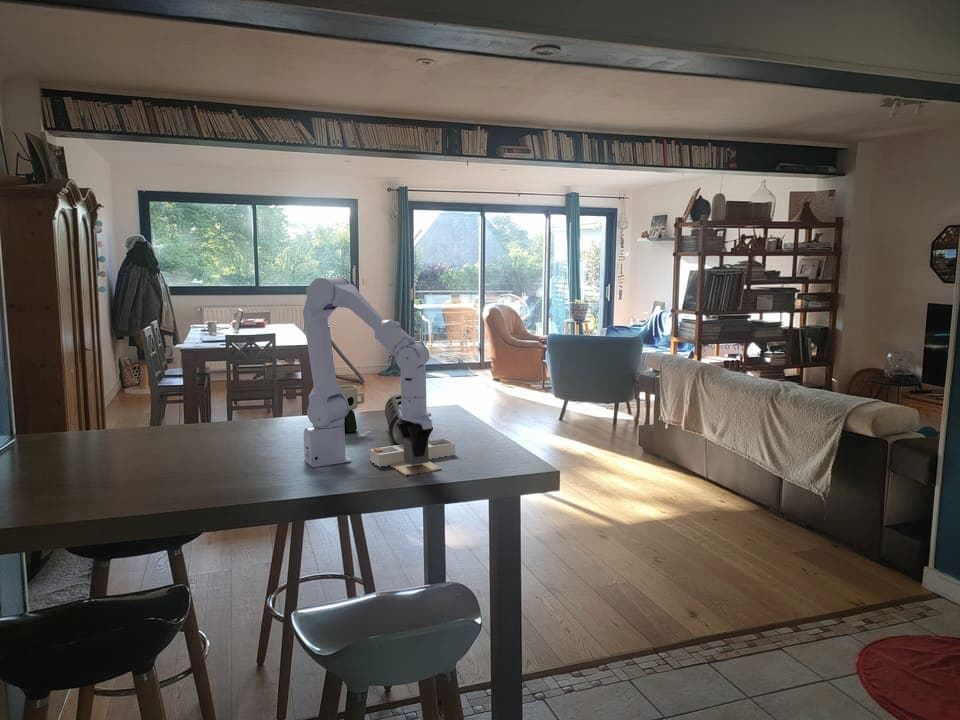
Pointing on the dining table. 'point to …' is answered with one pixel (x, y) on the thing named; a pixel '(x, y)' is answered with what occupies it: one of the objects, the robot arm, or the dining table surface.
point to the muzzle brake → (394, 418)
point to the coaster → (415, 468)
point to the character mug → (351, 405)
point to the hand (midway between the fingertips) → (415, 453)
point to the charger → (409, 453)
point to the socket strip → (396, 453)
